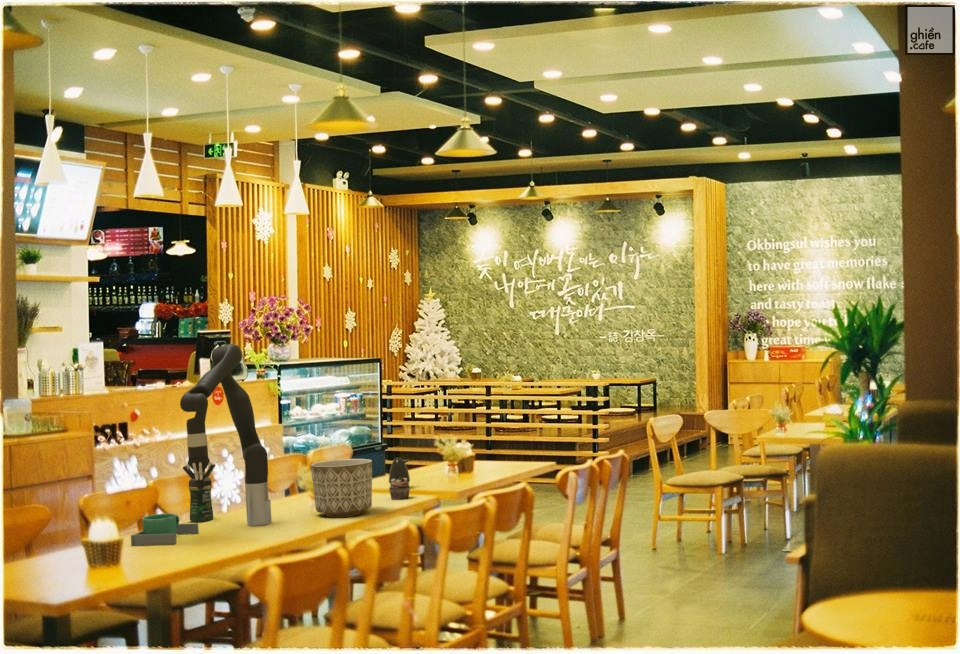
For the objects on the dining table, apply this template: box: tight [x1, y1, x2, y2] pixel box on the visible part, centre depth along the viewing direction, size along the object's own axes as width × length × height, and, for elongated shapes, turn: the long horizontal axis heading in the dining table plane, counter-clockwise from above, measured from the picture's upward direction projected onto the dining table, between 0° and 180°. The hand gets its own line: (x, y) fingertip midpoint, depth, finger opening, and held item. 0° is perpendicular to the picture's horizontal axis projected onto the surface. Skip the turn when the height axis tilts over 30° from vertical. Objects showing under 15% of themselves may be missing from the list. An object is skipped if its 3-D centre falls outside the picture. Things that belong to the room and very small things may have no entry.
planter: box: [310, 458, 373, 518], centre depth 490 cm, size 26×26×22 cm
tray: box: [130, 522, 200, 547], centre depth 450 cm, size 18×23×4 cm
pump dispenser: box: [388, 457, 411, 487], centre depth 559 cm, size 10×10×15 cm
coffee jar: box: [188, 476, 214, 523], centre depth 493 cm, size 10×8×19 cm
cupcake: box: [388, 477, 411, 501], centre depth 526 cm, size 10×10×10 cm
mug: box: [142, 513, 180, 534], centre depth 450 cm, size 17×13×10 cm
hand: (200, 489), depth 447 cm, fingers closed
